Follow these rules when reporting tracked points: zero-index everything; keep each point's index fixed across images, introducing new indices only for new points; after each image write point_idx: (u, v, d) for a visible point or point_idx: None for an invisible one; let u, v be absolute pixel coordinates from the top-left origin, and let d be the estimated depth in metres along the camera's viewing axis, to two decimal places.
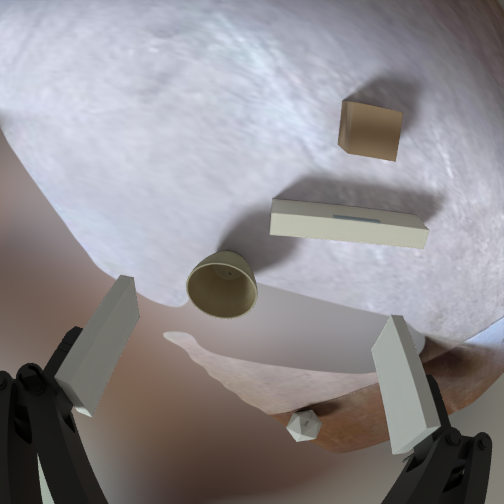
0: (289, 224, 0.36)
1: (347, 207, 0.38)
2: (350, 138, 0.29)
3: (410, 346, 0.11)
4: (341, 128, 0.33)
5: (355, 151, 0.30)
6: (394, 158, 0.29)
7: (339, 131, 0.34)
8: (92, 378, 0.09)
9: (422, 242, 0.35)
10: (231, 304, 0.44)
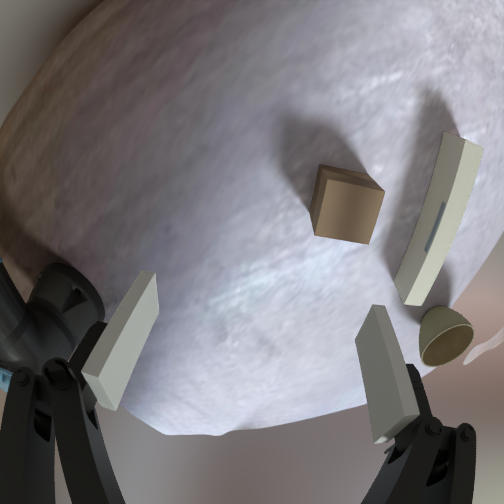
0: (419, 291, 0.32)
1: (421, 218, 0.32)
2: (353, 241, 0.29)
3: (391, 335, 0.12)
4: None
5: (367, 236, 0.28)
6: (381, 193, 0.26)
7: None
8: (117, 372, 0.10)
9: (476, 149, 0.22)
10: (463, 331, 0.36)
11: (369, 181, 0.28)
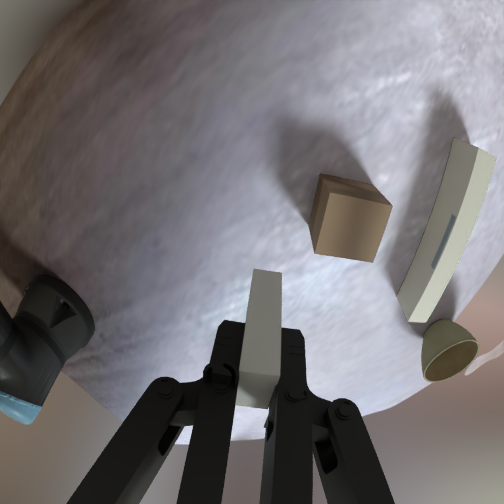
0: (424, 307, 0.30)
1: (428, 230, 0.30)
2: (356, 258, 0.26)
3: (275, 298, 0.13)
4: None
5: (372, 254, 0.26)
6: (388, 207, 0.23)
7: None
8: None
9: (489, 159, 0.20)
10: (467, 345, 0.34)
11: (375, 193, 0.26)
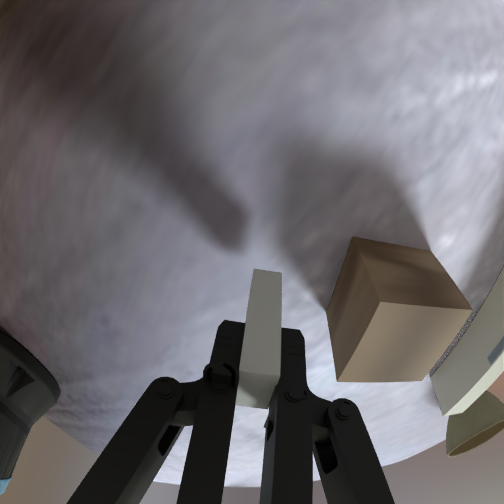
0: (466, 401, 0.18)
1: (487, 306, 0.18)
2: (400, 380, 0.14)
3: (275, 298, 0.13)
4: None
5: (424, 372, 0.14)
6: (466, 312, 0.12)
7: None
8: None
9: None
10: None
11: (441, 278, 0.14)
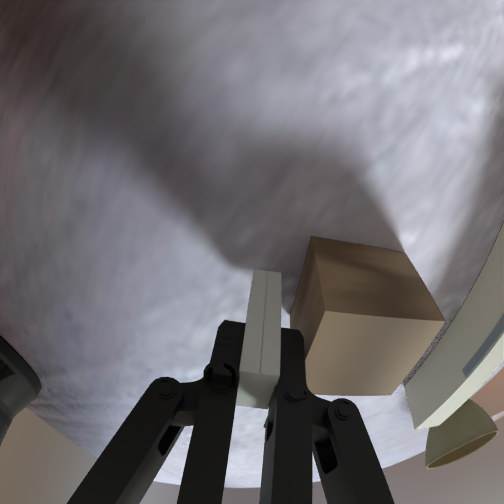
0: (440, 415, 0.17)
1: (464, 312, 0.17)
2: (364, 394, 0.14)
3: (275, 298, 0.13)
4: None
5: (392, 387, 0.13)
6: (437, 324, 0.11)
7: None
8: None
9: None
10: None
11: (412, 283, 0.13)
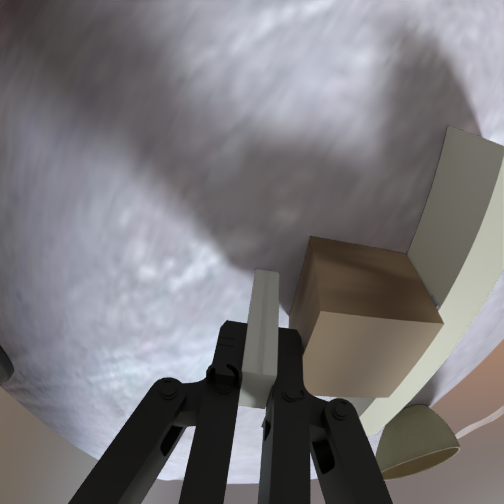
0: (368, 424, 0.17)
1: None
2: (362, 396, 0.14)
3: (273, 298, 0.13)
4: None
5: (390, 389, 0.13)
6: (436, 326, 0.11)
7: None
8: None
9: None
10: None
11: (411, 285, 0.13)
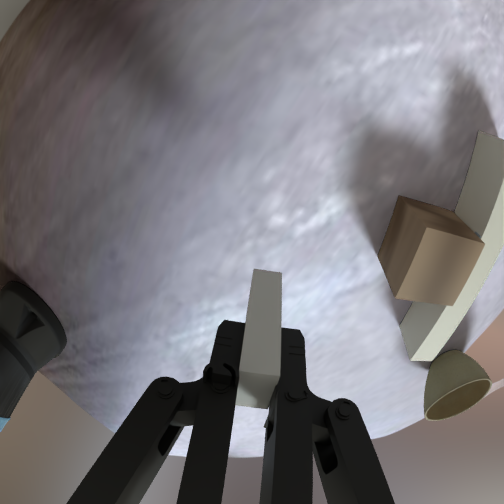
0: (431, 345, 0.23)
1: None
2: (437, 303, 0.19)
3: (275, 298, 0.13)
4: None
5: (454, 297, 0.19)
6: (481, 245, 0.16)
7: None
8: None
9: None
10: (478, 380, 0.27)
11: (462, 225, 0.18)
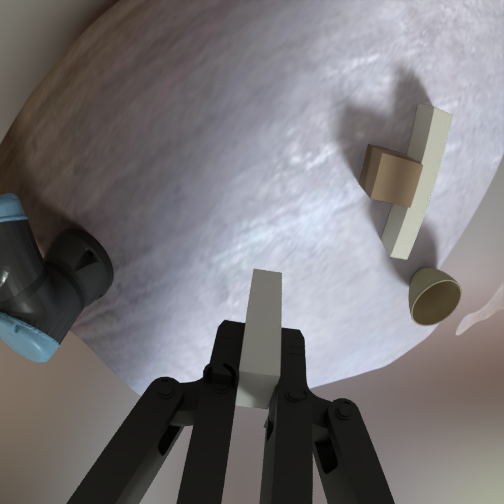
0: (403, 244, 0.37)
1: None
2: (399, 204, 0.33)
3: (275, 298, 0.13)
4: None
5: (410, 201, 0.33)
6: (420, 166, 0.30)
7: None
8: None
9: (445, 115, 0.27)
10: (451, 292, 0.41)
11: (409, 158, 0.32)
